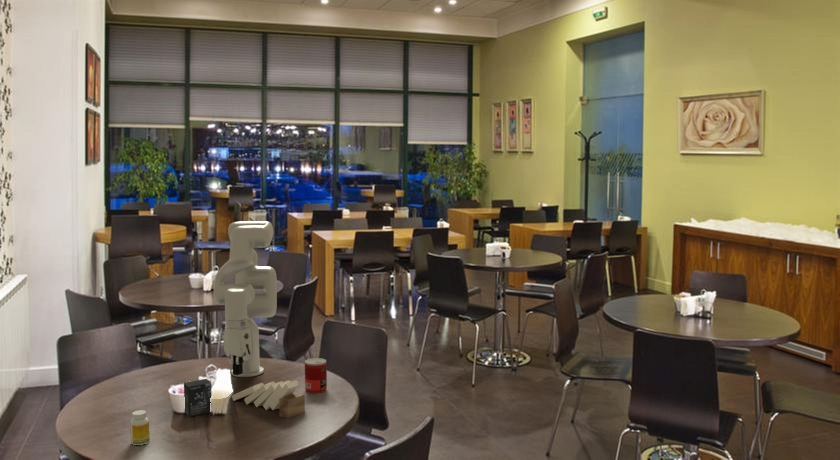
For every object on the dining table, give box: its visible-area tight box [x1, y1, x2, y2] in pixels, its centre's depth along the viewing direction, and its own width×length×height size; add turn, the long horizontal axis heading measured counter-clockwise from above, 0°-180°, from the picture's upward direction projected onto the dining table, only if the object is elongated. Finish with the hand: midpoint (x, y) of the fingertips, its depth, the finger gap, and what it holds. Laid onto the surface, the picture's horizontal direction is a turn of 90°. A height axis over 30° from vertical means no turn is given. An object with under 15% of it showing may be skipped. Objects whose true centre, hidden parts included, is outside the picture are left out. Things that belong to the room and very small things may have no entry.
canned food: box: [304, 357, 328, 394], centre depth 281 cm, size 8×8×11 cm
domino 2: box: [243, 380, 276, 405], centre depth 265 cm, size 2×5×12 cm
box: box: [183, 378, 212, 418], centre depth 257 cm, size 8×6×11 cm
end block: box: [278, 391, 306, 419], centre depth 257 cm, size 4×8×6 cm, turn 146°
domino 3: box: [253, 380, 284, 408], centre depth 262 cm, size 2×5×12 cm
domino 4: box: [262, 380, 291, 411], centre depth 260 cm, size 2×5×12 cm
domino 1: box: [231, 382, 265, 402], centre depth 268 cm, size 2×5×12 cm
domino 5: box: [270, 379, 300, 411], centre depth 258 cm, size 2×5×12 cm
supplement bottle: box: [129, 409, 151, 446], centre depth 232 cm, size 5×5×10 cm
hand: (237, 374), depth 270 cm, fingers closed
